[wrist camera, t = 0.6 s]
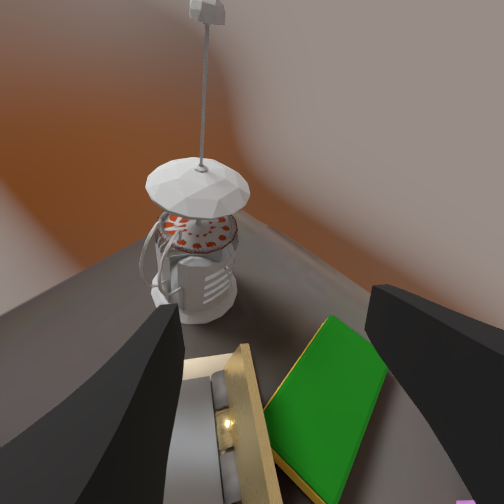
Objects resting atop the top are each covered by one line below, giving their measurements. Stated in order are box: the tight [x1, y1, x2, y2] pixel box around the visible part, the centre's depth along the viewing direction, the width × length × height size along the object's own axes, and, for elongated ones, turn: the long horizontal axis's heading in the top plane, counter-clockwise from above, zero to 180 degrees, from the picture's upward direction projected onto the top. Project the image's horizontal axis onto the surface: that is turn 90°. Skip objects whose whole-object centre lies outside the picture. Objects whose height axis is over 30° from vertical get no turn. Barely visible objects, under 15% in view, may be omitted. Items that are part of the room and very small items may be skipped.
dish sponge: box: [263, 315, 388, 504], centre depth 24 cm, size 7×14×2 cm, turn 141°
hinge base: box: [163, 353, 242, 504], centre depth 19 cm, size 18×9×3 cm, turn 12°
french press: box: [139, 0, 250, 324], centre depth 22 cm, size 10×12×25 cm
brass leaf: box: [215, 343, 283, 504], centre depth 17 cm, size 14×7×2 cm
